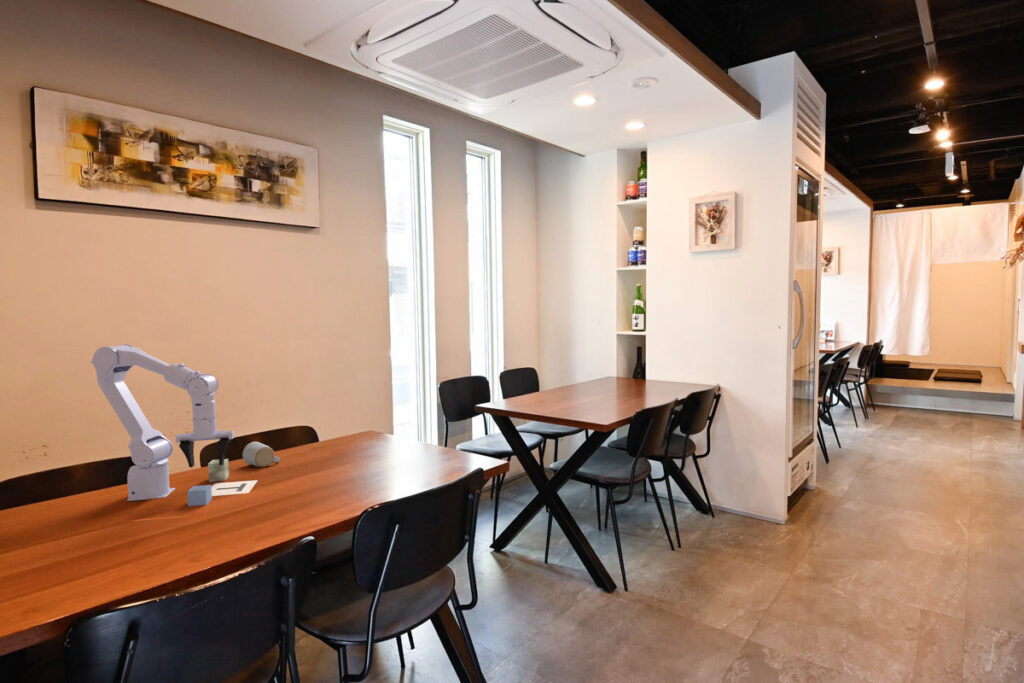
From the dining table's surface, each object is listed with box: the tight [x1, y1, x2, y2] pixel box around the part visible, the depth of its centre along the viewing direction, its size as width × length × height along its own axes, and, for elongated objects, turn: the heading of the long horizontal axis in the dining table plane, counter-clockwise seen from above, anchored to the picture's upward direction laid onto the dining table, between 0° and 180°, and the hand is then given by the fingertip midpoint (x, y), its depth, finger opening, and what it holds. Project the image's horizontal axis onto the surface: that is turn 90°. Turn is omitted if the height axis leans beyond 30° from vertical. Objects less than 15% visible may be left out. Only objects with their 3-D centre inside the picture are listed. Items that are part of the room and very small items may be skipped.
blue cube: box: [186, 484, 213, 507], centre depth 151 cm, size 4×4×4 cm
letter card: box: [211, 479, 259, 497], centre depth 163 cm, size 12×12×1 cm
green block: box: [207, 458, 230, 483], centre depth 171 cm, size 4×4×6 cm
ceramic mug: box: [242, 441, 281, 468], centre depth 188 cm, size 11×8×8 cm
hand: (206, 465), depth 158 cm, fingers open, 7 cm apart
